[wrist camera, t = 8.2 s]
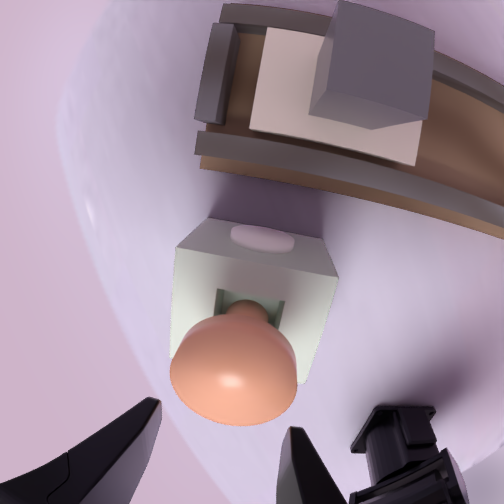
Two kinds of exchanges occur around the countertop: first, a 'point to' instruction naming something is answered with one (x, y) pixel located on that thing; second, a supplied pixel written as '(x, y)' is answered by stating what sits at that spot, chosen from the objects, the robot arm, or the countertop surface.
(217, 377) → the button
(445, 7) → the countertop surface
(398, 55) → the carriage
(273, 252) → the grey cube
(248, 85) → the rail
